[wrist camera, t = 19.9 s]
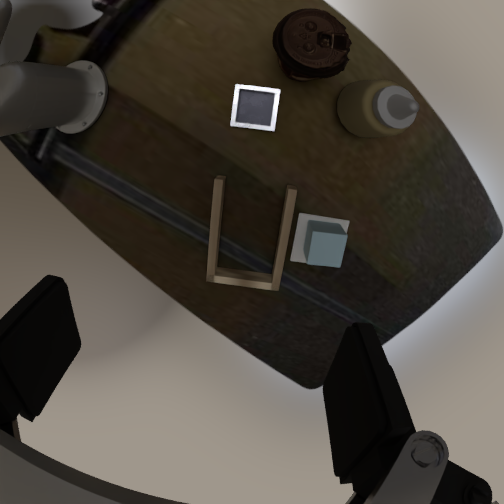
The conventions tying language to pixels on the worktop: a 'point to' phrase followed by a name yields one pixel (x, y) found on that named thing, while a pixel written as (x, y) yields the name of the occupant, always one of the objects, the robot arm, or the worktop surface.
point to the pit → (255, 107)
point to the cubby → (244, 276)
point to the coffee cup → (311, 45)
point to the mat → (301, 233)
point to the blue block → (324, 243)
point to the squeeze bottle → (376, 108)
